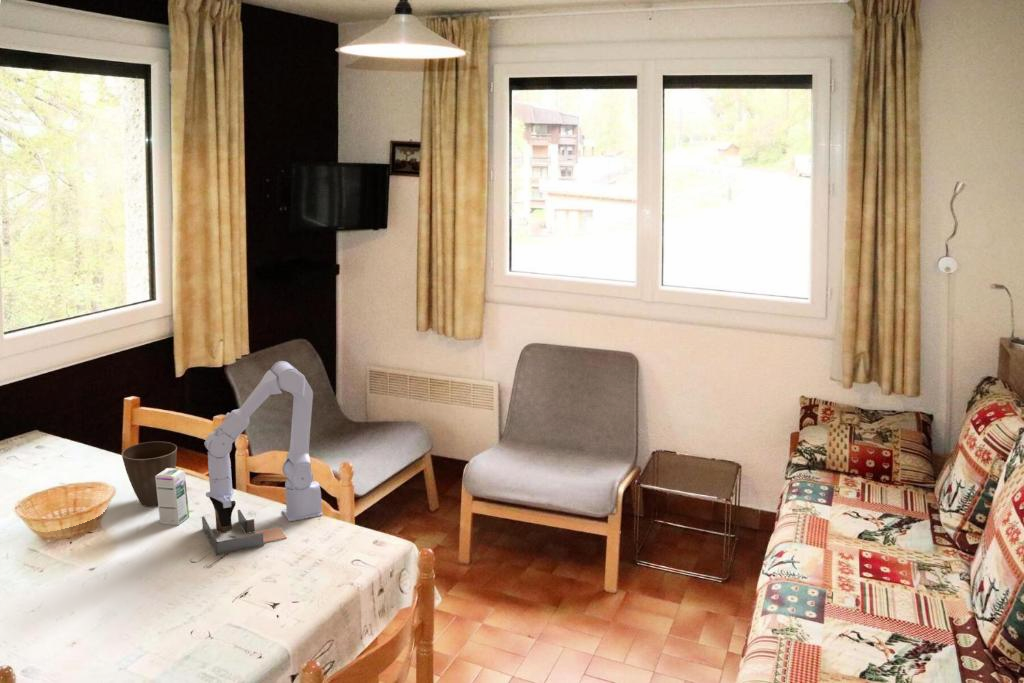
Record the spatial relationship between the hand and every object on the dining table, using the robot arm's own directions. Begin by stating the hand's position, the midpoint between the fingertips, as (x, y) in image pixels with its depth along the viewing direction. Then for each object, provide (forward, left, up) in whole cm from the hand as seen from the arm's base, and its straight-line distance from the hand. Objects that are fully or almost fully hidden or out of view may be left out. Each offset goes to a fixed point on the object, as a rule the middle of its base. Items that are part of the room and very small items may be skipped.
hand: (223, 522), depth 256 cm
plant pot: (+14, -28, -2) cm, 31 cm away
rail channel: (-1, +6, -2) cm, 6 cm away
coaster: (-10, +10, -2) cm, 14 cm away
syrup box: (+11, -12, -2) cm, 16 cm away
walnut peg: (0, 0, -2) cm, 2 cm away
